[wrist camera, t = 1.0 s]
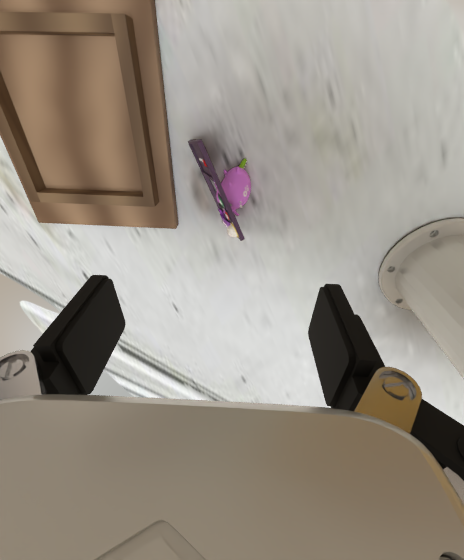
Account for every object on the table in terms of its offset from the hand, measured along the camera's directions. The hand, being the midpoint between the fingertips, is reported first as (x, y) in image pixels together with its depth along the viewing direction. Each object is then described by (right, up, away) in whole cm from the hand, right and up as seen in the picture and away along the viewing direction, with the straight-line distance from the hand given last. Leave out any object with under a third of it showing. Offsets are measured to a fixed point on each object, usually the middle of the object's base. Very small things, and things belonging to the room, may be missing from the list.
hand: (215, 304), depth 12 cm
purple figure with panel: (0, +12, +15) cm, 20 cm away
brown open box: (-13, +16, +13) cm, 25 cm away
